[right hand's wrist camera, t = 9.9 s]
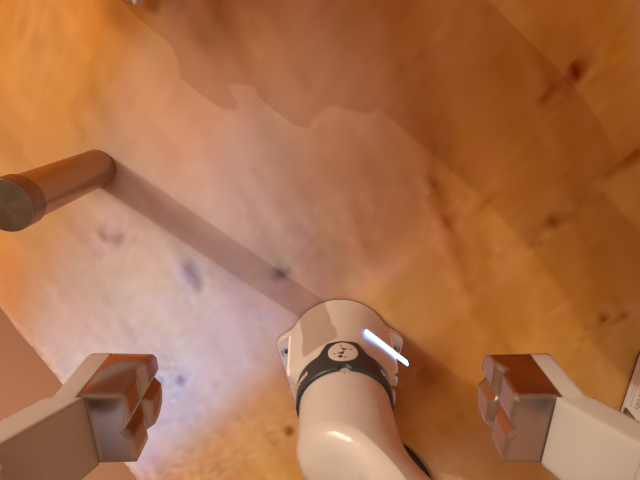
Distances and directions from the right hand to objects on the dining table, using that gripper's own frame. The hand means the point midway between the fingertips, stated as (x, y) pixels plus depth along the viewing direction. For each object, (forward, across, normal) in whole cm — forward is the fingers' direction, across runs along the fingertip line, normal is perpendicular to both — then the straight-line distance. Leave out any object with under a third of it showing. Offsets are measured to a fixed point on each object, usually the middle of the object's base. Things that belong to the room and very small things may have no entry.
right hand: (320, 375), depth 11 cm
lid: (+29, -29, -4) cm, 41 cm away
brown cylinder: (+46, -29, -4) cm, 55 cm away
